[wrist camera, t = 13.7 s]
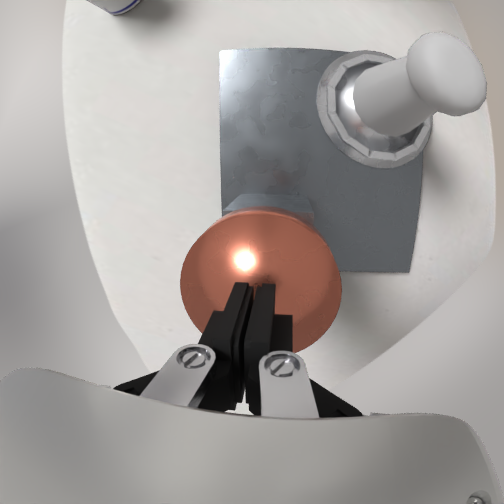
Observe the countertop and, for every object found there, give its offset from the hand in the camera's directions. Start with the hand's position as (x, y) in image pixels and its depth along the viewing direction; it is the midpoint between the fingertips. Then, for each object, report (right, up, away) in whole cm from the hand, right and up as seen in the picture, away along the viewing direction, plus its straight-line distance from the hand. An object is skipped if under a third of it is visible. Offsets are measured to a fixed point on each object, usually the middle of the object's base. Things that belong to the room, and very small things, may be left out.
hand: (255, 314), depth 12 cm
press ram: (+1, +3, +9) cm, 9 cm away
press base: (+6, +11, +12) cm, 17 cm away
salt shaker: (+10, +15, +8) cm, 20 cm away
